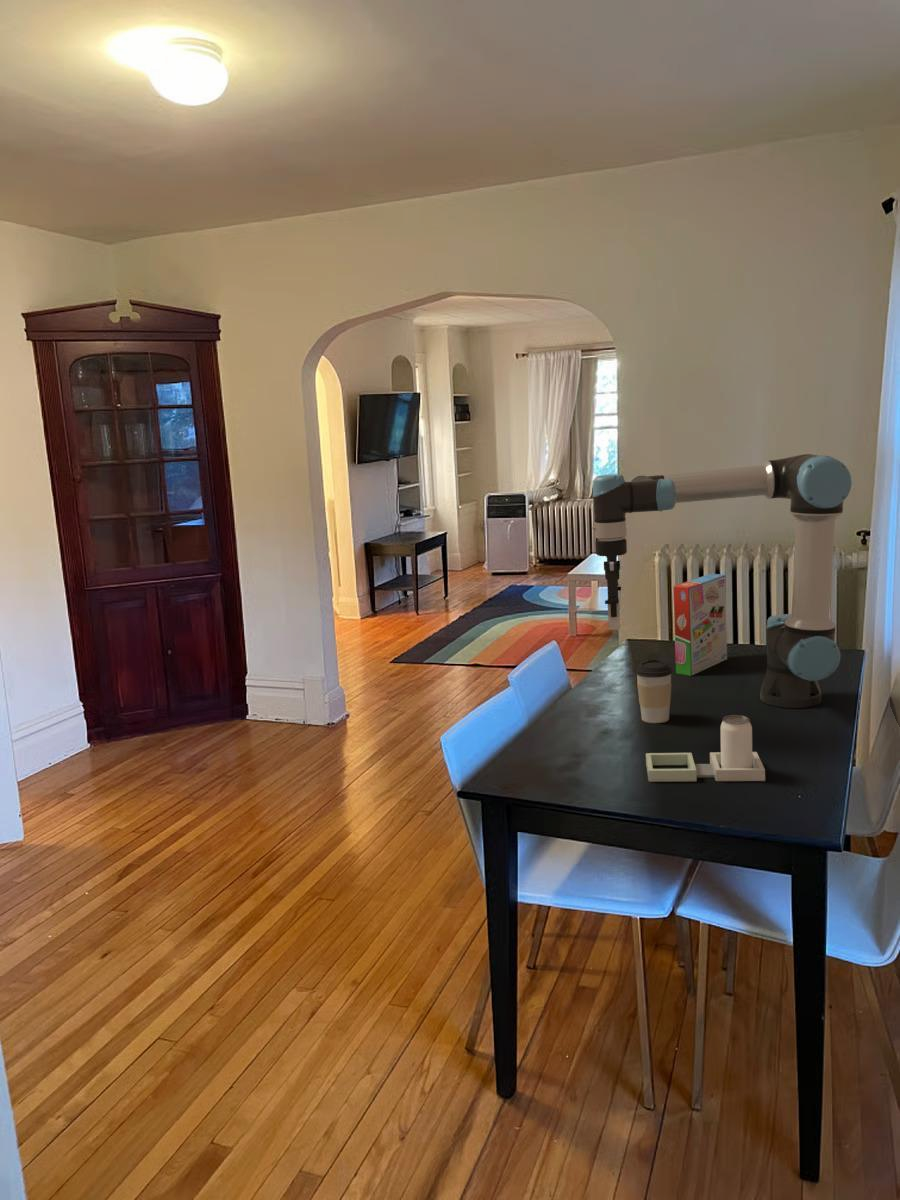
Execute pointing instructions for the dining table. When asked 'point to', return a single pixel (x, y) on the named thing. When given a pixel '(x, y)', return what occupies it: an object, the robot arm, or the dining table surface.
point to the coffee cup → (654, 690)
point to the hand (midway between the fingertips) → (614, 623)
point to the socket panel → (700, 768)
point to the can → (736, 742)
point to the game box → (700, 623)
